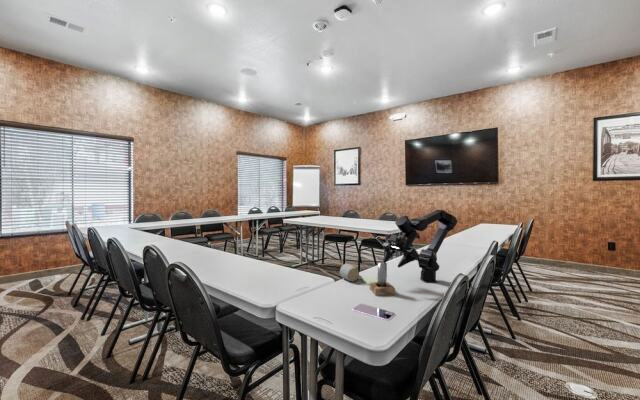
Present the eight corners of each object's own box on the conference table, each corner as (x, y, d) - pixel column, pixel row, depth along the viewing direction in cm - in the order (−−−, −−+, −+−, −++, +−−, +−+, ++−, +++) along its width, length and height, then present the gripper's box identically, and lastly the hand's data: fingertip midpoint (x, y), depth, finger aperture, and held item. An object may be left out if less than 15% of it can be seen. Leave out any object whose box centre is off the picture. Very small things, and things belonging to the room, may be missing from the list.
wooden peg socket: (387, 288, 137) (387, 281, 137) (394, 294, 128) (394, 288, 128) (369, 288, 136) (369, 282, 136) (375, 295, 127) (375, 288, 127)
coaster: (379, 278, 153) (379, 277, 153) (386, 284, 143) (386, 283, 143) (361, 278, 152) (361, 277, 151) (366, 284, 142) (367, 283, 142)
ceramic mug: (348, 283, 144) (348, 267, 144) (339, 278, 151) (339, 263, 151) (365, 280, 149) (365, 265, 149) (355, 276, 156) (356, 262, 156)
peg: (384, 290, 134) (385, 262, 134) (387, 293, 130) (388, 264, 130) (376, 290, 134) (376, 262, 134) (378, 293, 130) (379, 264, 130)
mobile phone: (360, 302, 117) (396, 312, 108) (360, 305, 117) (396, 314, 108) (351, 308, 111) (387, 319, 102) (351, 311, 111) (387, 322, 102)
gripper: (385, 226, 145) (368, 250, 139) (415, 230, 129) (397, 257, 124) (396, 240, 149) (379, 264, 144) (426, 246, 134) (409, 273, 128)
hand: (390, 264), depth 135 cm, fingers open, 9 cm apart
